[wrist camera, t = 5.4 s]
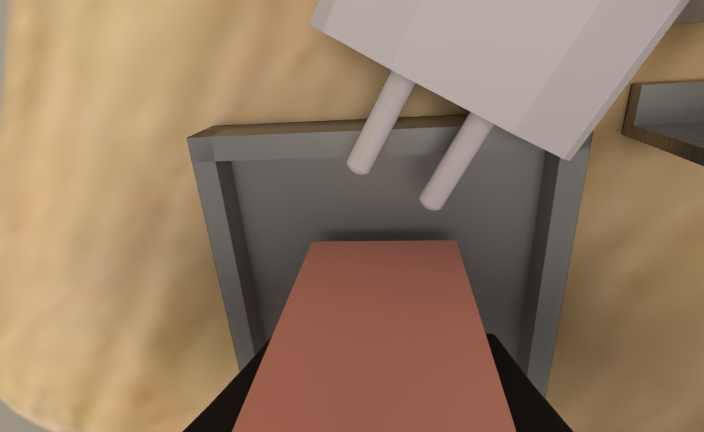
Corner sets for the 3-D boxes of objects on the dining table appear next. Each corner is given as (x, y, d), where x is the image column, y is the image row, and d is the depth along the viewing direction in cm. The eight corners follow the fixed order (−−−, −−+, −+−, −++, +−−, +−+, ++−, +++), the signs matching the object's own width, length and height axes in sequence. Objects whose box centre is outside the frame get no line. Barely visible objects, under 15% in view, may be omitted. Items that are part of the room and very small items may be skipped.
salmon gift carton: (449, 371, 11) (494, 635, 6) (326, 367, 12) (274, 611, 7) (456, 240, 10) (523, 453, 5) (312, 241, 10) (228, 439, 5)
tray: (521, 408, 14) (536, 448, 12) (267, 398, 15) (254, 434, 13) (566, 110, 10) (595, 121, 8) (213, 126, 11) (186, 137, 9)
